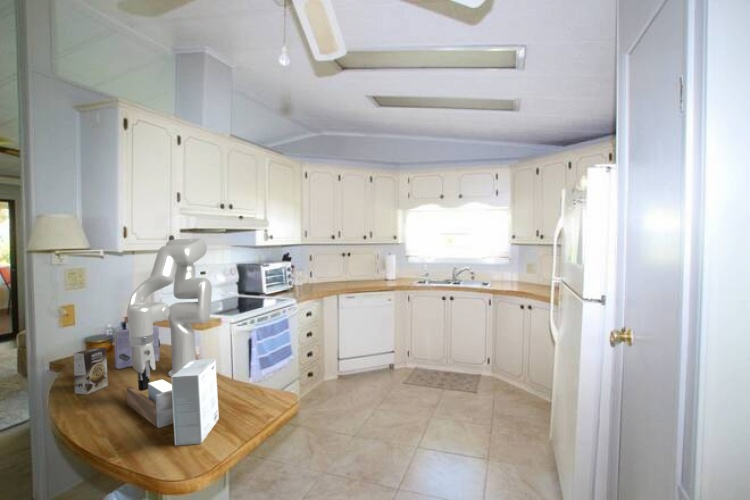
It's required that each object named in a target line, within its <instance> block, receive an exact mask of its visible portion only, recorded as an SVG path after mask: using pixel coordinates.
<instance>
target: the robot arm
mask: <svg viewBox="0 0 750 500" xmlns="http://www.w3.org/2000/svg"><path fill="white" fill-rule="evenodd" d="M207 248H208V246H207V243H206V241H205V240H204V239H202V238H177V239H171V240H168V241H167V242H166V244H165V245H163V246H161V247H160V248H159V249H158V251H157V254H156V258H155V259H154V260H155V261H154V263H153V267H152V270H151V273H150V276H149V277H148V278H147V279H146V280H144V281H143V282H142V283H141V284H140V285H138V287H137V288H135V290H134V291H133V292H132V294H131V297H130V299H129V302H128V305H127V309H126V316H127V319H128V329H129V341H130V346H131V347H132V364H133V366H132V368H133V369H134V371H136V372H137V381H138V382H137V384H138V385H137V386H138V389H137V390H138V391H139V392H143V391H146V390H148V383H150V376H151V371H155V370H156V361H155V356H154V349H153V344H152V343H154V339H153V326H154V323H160V322H164V321H165V320H166V319H168V323H169V328H170V329H169V330H170V344H171V345H170V347H171V370H169V371H168V376H169V377H170V378H171V377H172V376H173V375H174V374H176V373H177V372H178V371H179V370H181V369H182V368H183V367H184V366H185V365H187V364H188V363H189V362H190V361H192V360H197V358H196V334H195V330H194V328H193V327H192V325H191V324H205V323H206V322H208V321H209V319H210V316H211V311H212V310H211V307H212V294H213V293H212V292H213V289H212V284H211V281H210V280H209V279H208V278H207V277H196V265H195V264H194V263H196V262H198V261H199V260H201V259H202V258H203V257H204V256H205V255H206V253H207V250H208V249H207ZM172 284H173V296H174V298H175V299H178V300H197V301H184V302H183V301H182V302H175V303H172V304H170V306H169V305H168V304H166V303H165V302H161V301H159V302H158V301H157V302H155V301H154V302H151V301H150V302H149V301H147V302H145V301H146V299H147V298H148V297H150V296H151V294H153V293H155V292H157V291H159V290H162V289H164V288H166V287H168V286H170V285H172Z"/></svg>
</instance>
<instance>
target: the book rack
mask: <svg viewBox="0 0 750 500" xmlns="http://www.w3.org/2000/svg"><path fill="white" fill-rule="evenodd" d="M126 400H127V402H126V404H127V405H128V407H130V408H131V409H132V410H134V411H135V412H137V413H138V414H139V415H141V416H142V418H144V419H145V420H147V421H148V422H149V423H151V424H152V425H153V426H155V427H157V428H158V429H160V428H163V427H166V426H169V425H171V424H174V419H173V400H172V390H171V391H168V392H164V393H161V394H157V395H156V403H155V402H154V401H152V400H151V399H149V396H146V395H145V394H143V393H142V392H141V391H140V390H138V389H136V388H134V387H133V386H128V387H126Z"/></svg>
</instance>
